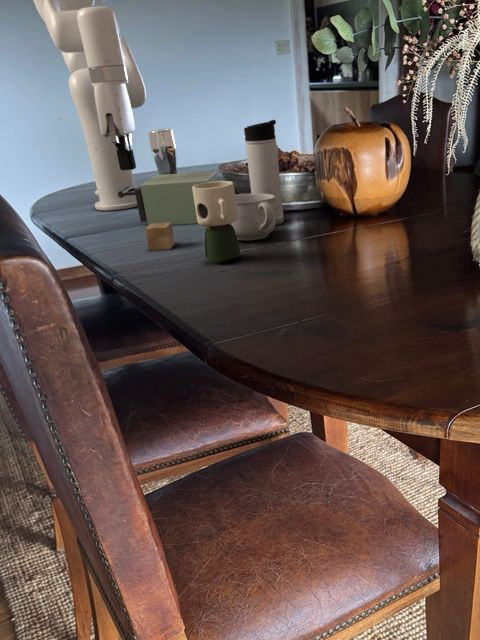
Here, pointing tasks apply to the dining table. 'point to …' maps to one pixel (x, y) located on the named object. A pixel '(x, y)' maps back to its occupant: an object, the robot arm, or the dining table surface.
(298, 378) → the dining table surface
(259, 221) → the teacup
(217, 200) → the character mug
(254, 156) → the travel mug
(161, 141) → the beer glass
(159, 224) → the block
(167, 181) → the cabinet
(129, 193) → the drawer
